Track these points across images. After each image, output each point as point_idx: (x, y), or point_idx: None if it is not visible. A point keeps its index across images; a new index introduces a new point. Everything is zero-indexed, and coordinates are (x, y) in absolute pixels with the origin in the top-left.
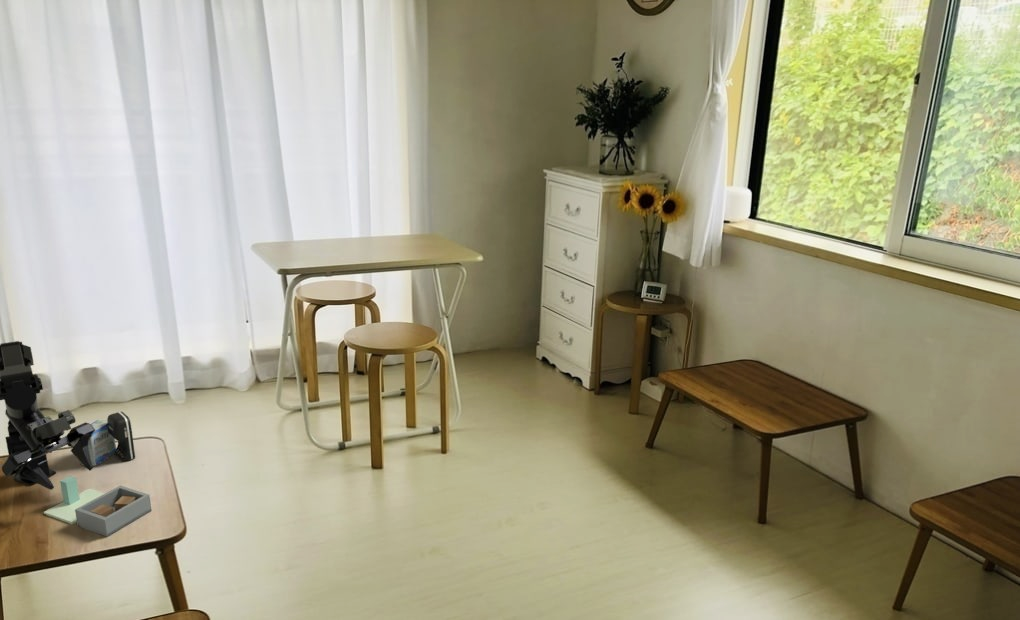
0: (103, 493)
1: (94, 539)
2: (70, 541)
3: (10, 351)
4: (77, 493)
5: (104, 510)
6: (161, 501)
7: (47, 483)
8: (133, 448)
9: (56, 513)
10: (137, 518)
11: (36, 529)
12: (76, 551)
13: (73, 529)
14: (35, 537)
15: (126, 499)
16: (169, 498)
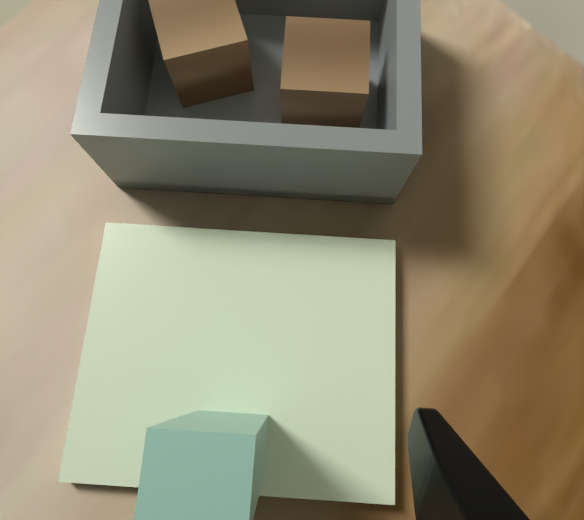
0: (90, 333)
1: (432, 52)
2: (496, 130)
3: None
4: (196, 414)
5: (328, 31)
6: (64, 23)
7: (476, 461)
8: None
9: (372, 405)
10: None
11: (517, 383)
12: (531, 49)
13: (422, 200)
14: (566, 316)
15: (186, 15)
16: (30, 10)
